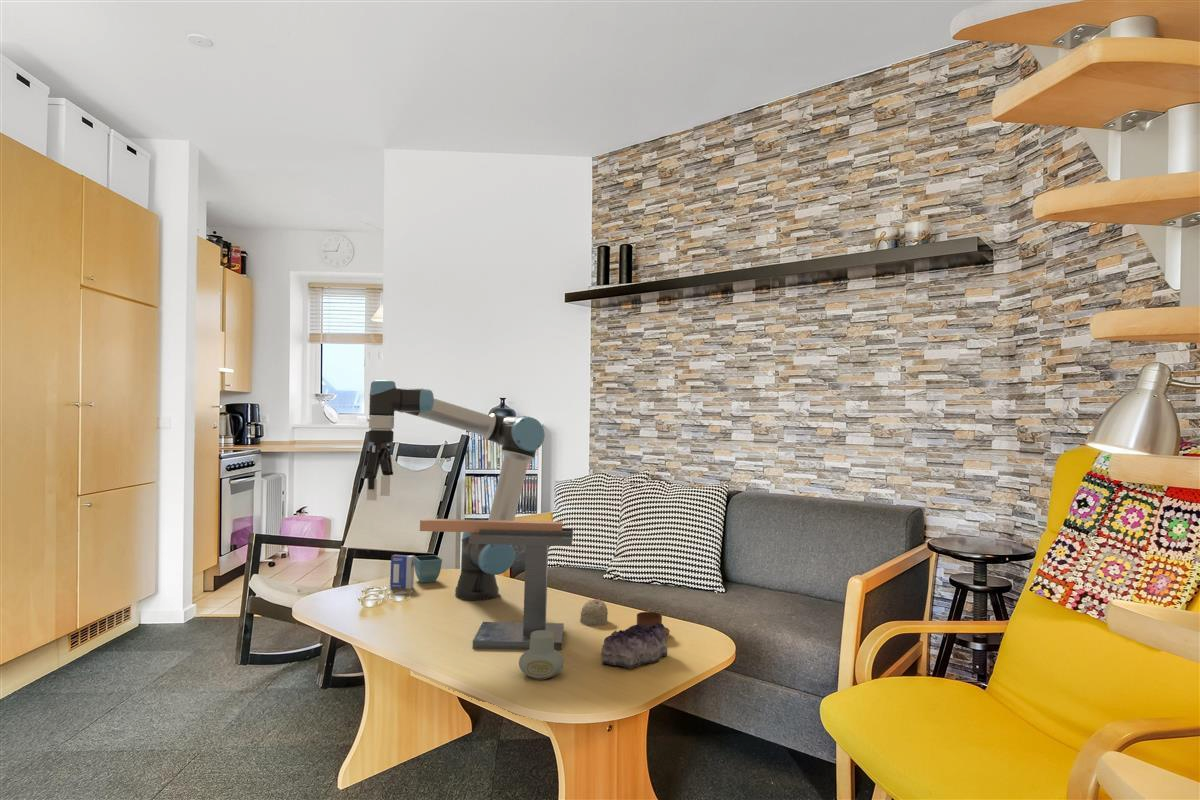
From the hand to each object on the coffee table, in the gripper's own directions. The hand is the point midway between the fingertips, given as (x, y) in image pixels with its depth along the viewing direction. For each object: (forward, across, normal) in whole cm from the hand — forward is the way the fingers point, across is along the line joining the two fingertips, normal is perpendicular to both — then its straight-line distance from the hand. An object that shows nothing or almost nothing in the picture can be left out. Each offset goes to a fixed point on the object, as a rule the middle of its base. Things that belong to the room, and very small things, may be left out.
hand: (378, 498), depth 211 cm
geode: (+37, +33, +79) cm, 93 cm away
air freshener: (+37, +46, +55) cm, 80 cm away
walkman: (+37, -38, -2) cm, 53 cm away
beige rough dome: (+37, 0, +68) cm, 78 cm away
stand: (+37, +18, +47) cm, 62 cm away
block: (+7, +18, +38) cm, 43 cm away
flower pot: (+37, -49, +5) cm, 62 cm away
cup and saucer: (+37, +13, +84) cm, 93 cm away
